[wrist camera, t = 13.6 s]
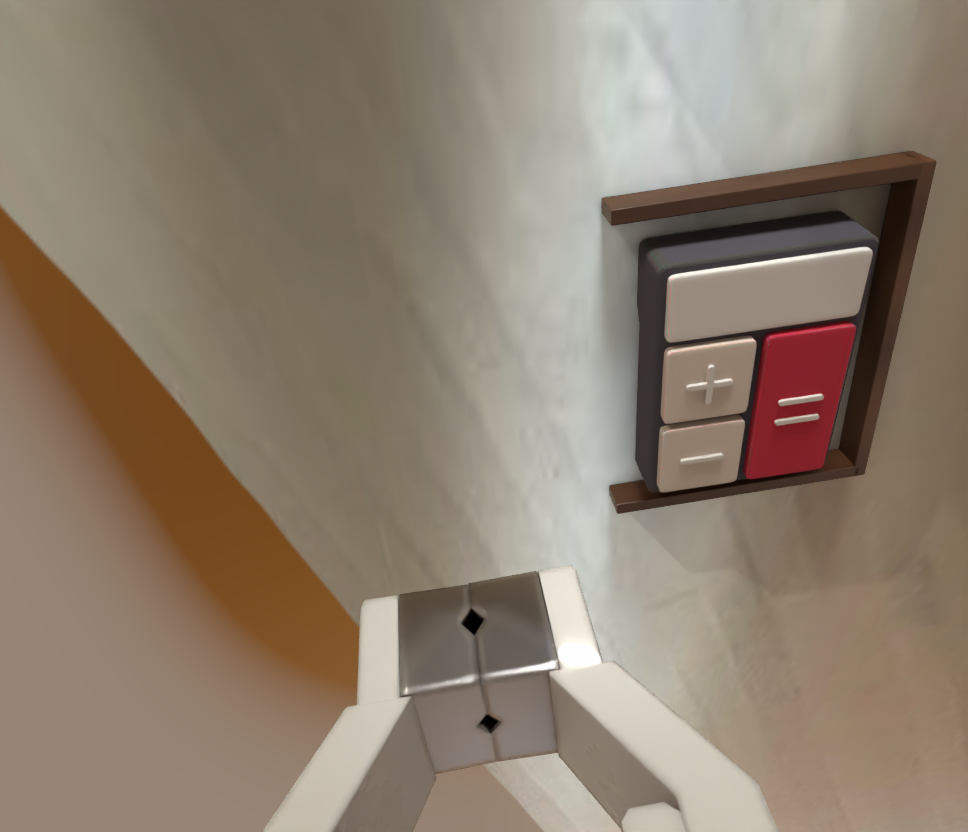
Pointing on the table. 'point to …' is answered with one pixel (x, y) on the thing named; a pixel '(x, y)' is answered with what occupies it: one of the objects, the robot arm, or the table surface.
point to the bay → (883, 309)
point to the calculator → (746, 347)
